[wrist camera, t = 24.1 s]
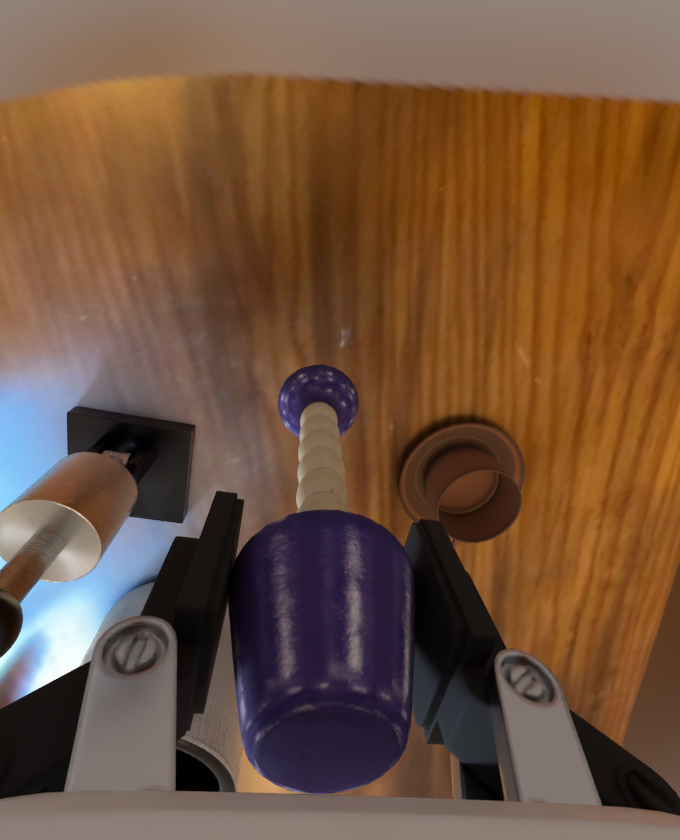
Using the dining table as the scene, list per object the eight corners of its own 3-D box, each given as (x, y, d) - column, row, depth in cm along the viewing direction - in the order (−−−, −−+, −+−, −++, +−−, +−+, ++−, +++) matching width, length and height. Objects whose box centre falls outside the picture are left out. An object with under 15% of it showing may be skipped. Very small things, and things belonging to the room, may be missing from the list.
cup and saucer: (509, 517, 44) (540, 557, 38) (396, 528, 44) (409, 570, 38) (521, 410, 40) (557, 437, 34) (394, 421, 39) (409, 450, 33)
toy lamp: (348, 452, 24) (428, 830, 8) (264, 441, 23) (184, 829, 8) (365, 370, 22) (505, 655, 7) (275, 356, 21) (200, 636, 6)
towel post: (82, 418, 33) (-155, 603, 16) (161, 430, 34) (16, 618, 17) (83, 482, 36) (-125, 706, 18) (157, 493, 36) (24, 716, 19)
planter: (282, 652, 49) (272, 820, 34) (158, 697, 50) (99, 878, 36) (214, 550, 43) (168, 702, 28) (76, 604, 44) (-36, 776, 30)
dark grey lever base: (75, 406, 36) (22, 442, 29) (195, 425, 38) (171, 464, 31) (76, 499, 40) (28, 552, 33) (186, 514, 41) (162, 567, 34)
